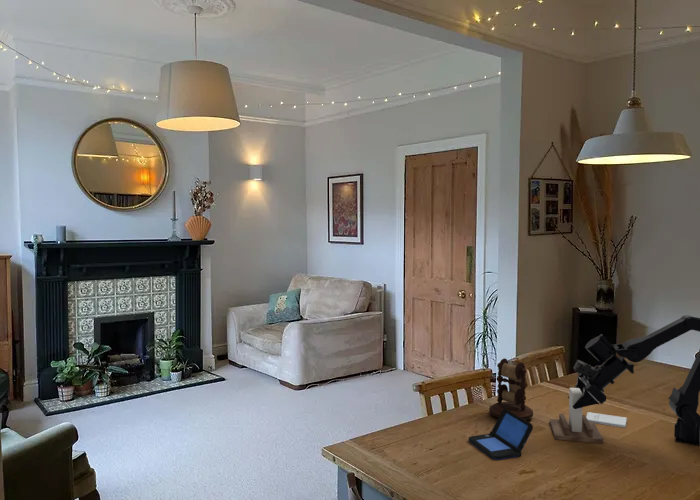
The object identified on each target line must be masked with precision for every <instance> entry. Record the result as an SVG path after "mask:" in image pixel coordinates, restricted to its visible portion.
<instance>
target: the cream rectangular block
mask: <svg viewBox="0 0 700 500" xmlns="http://www.w3.org/2000/svg"><path fill="white" fill-rule="evenodd" d="M582 395H583V393H582V392H581V390H580V388H574V387H569V395H568V396H569V398H568V402H569V403H568V420H569V426H570V429H571V431H572V432H582V415H583V407H582V408H578V409H574V408H573V405H574V404H575V402H576V401H577V400H578V399H579V398H580V397H581V396H582Z"/></svg>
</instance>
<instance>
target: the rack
mask: <svg viewBox="0 0 700 500" xmlns="http://www.w3.org/2000/svg"><path fill="white" fill-rule="evenodd" d="M586 416H587V415H585V414H582V432H572V431H571V429H570V426H569V419H567V418H566V416H565V414H564V413H559V414H558V418H557V419H556V418H555V419H554V418H549V424H550V427H551V429H552V434H553V436H554V439H555V440H560V441H561V440H562V441H571V442H572V441H573V442H584V443H595V444H596V443H597V444H604V438H603V436H602V434H601V432H600V431H599V429H598V427H597V425H596V423H594V422H589V421H588V419H587V418H586Z"/></svg>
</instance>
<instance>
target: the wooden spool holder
mask: <svg viewBox="0 0 700 500" xmlns="http://www.w3.org/2000/svg"><path fill="white" fill-rule="evenodd" d="M496 365H497V370H498V372H497V376H496V381H497V383H498V384H497V388H498V389H496V392H497V400H496V401H497V402H495V403H494V404H491V405H490V406H489V407H488V409H489V410H488V412H489V415H490V417H496V418H497V419H498V418H499V416H500V414H501V412H502V410H504V409H507V410H508V411H510V412H512V413H514V414H515V415H517V416H519V417H520V418H522V419H524V420H526V421H527V420H530V419H531V418H533V416H534V410H533V409H532V408H531V407H529V406H528V405H526V404H525V403H526V400H527V397H526V389H527V387H528V383H527V382H526V376H527V374H526V373H527V369H526V366H525V364H524V362H521V361H520V362H518V363H517V364H516V365H515V364H510V363H509V360H508V359H507V358H502V359H501V360H500V362H499V363H497V364H496ZM503 383H504V384H503ZM505 383H507V384H508V386H507V384H505Z"/></svg>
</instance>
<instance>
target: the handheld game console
mask: <svg viewBox="0 0 700 500" xmlns="http://www.w3.org/2000/svg"><path fill="white" fill-rule="evenodd" d="M533 429H534V425H533V424H532V423H530V422H529V421H527V419H526V420H524V419H522V418H520V417H519V416H517V415H515V414H514V413H512V412H510V411H508V410H507V409H504V410H502V412H501V414H500V416H499V418H498V417H497V420H496V422H495V423H494V426H493V428H492V429H491V430H490V431H489V433H485V434H484V433H483V434H479V435H472V436H469V437H468V441H469V443H471V444H472V445H473V446H475V447H476V448H477V449H479V450H480V451H481V452H483V453H484V454H486V455H487V456H488V457H490V458H491V459H493V460H494V461H499V460H504V459H505V460H506V459H511V458H519V457H522V451H523V449H524V447H525V445H526V443H527V441H528V439H529V437H530V435H531V434H532V432H533Z"/></svg>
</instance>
